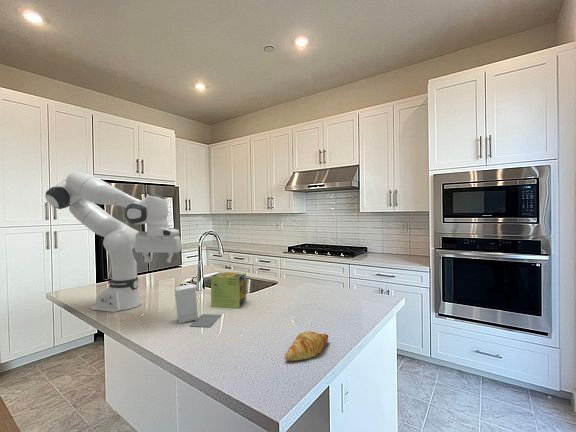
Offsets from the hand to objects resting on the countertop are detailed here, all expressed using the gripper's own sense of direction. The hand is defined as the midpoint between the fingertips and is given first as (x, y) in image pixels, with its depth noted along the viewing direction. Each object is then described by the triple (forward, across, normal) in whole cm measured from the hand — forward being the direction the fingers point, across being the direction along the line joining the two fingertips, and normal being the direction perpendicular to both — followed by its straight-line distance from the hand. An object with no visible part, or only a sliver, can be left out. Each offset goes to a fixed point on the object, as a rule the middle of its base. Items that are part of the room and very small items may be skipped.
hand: (158, 262), depth 133 cm
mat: (+26, +21, 0) cm, 33 cm away
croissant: (+26, +66, -24) cm, 75 cm away
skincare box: (+26, +13, 0) cm, 29 cm away
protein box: (+26, +25, +23) cm, 43 cm away
